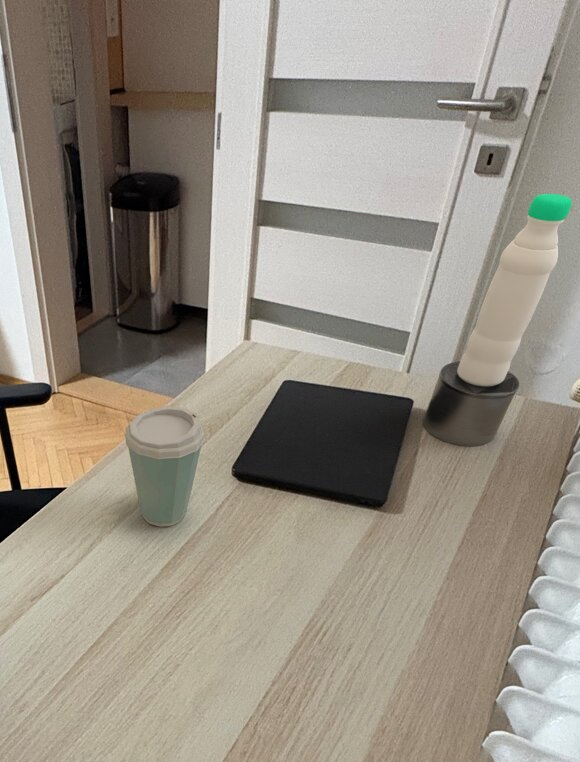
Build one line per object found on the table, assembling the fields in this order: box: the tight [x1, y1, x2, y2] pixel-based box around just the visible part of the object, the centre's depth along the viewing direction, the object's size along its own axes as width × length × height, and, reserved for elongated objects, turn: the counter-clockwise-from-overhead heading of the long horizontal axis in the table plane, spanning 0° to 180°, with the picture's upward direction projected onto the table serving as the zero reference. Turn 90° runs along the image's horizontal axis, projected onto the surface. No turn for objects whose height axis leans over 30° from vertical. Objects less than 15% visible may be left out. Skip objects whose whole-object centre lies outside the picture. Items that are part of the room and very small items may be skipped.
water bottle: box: [457, 193, 573, 386], centre depth 90 cm, size 7×7×25 cm
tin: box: [422, 360, 520, 447], centre depth 102 cm, size 12×12×9 cm
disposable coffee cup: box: [124, 405, 206, 527], centre depth 86 cm, size 11×11×15 cm
